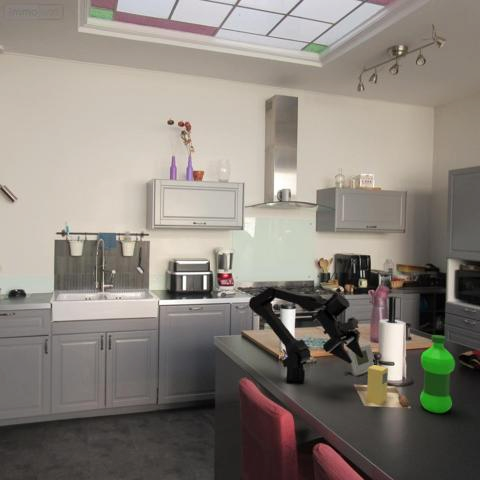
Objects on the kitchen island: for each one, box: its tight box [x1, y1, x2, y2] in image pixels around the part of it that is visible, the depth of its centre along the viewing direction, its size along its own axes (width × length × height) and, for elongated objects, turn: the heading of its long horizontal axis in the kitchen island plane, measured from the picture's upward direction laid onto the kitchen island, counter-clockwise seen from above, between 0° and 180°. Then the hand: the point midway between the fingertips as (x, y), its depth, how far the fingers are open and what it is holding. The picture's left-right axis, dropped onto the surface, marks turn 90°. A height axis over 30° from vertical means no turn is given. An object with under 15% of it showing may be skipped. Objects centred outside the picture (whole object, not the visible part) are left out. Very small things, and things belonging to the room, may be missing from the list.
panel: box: [353, 384, 411, 409], centre depth 175 cm, size 15×21×1 cm
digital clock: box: [346, 342, 375, 377], centre depth 204 cm, size 16×9×11 cm, turn 123°
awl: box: [397, 391, 410, 407], centre depth 169 cm, size 2×10×2 cm, turn 177°
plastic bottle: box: [419, 334, 456, 414], centre depth 163 cm, size 10×10×25 cm
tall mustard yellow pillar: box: [366, 364, 389, 405], centre depth 169 cm, size 5×5×12 cm
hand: (357, 360), depth 173 cm, fingers open, 9 cm apart
